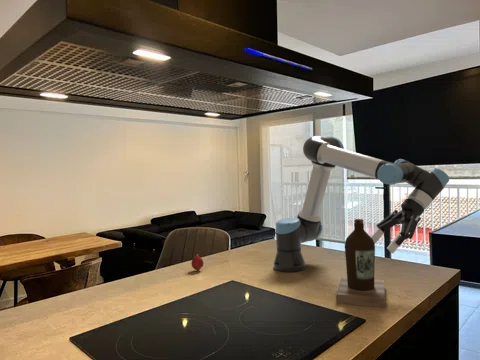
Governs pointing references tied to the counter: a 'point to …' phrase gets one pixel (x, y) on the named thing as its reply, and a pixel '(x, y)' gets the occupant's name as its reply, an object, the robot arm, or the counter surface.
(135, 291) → the counter surface
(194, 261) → the onion
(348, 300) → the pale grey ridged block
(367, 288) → the olive oil
